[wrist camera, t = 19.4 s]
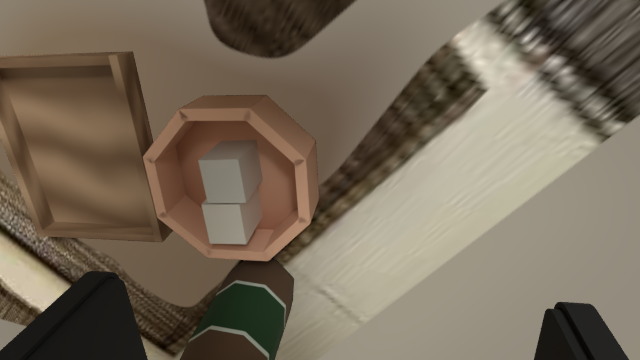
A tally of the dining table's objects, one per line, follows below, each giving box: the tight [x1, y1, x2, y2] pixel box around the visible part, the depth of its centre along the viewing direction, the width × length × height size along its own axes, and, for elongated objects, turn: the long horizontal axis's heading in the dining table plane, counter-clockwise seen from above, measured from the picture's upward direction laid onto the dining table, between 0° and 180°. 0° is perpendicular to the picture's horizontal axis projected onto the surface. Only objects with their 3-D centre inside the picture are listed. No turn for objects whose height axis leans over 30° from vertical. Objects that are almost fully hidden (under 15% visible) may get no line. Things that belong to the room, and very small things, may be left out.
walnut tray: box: [0, 52, 173, 242], centre depth 41 cm, size 19×15×2 cm
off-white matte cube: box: [198, 140, 263, 203], centre depth 36 cm, size 4×4×5 cm
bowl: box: [143, 95, 319, 261], centre depth 38 cm, size 15×15×5 cm
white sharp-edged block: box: [201, 187, 262, 244], centre depth 38 cm, size 4×4×5 cm
